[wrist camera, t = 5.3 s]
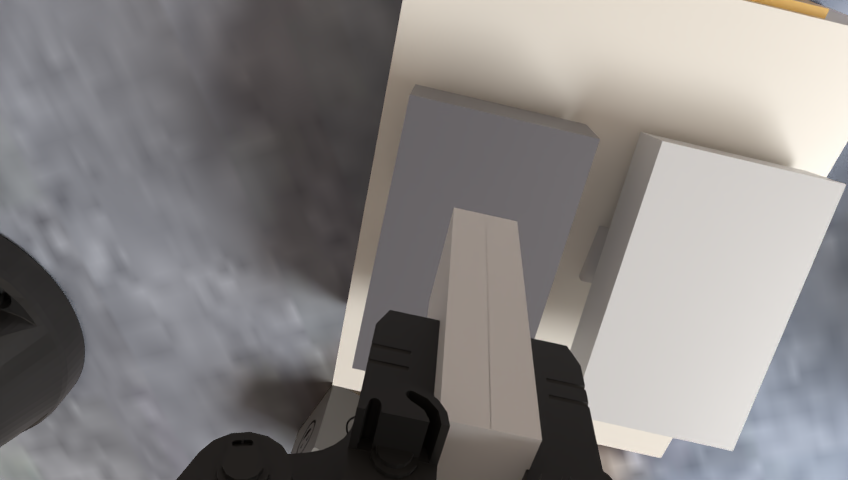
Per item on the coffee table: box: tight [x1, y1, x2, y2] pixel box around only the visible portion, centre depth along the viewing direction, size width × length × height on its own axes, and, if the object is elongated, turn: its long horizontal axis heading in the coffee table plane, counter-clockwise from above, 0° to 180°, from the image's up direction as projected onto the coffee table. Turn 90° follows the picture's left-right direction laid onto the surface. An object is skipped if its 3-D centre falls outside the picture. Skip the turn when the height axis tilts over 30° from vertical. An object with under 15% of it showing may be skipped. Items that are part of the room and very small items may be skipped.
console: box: [332, 0, 848, 458], centre depth 27 cm, size 16×20×7 cm
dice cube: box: [291, 385, 360, 454], centre depth 38 cm, size 5×5×5 cm
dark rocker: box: [352, 84, 600, 371], centre depth 23 cm, size 6×10×2 cm, turn 168°
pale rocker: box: [570, 132, 846, 451], centre depth 23 cm, size 6×10×2 cm, turn 168°
